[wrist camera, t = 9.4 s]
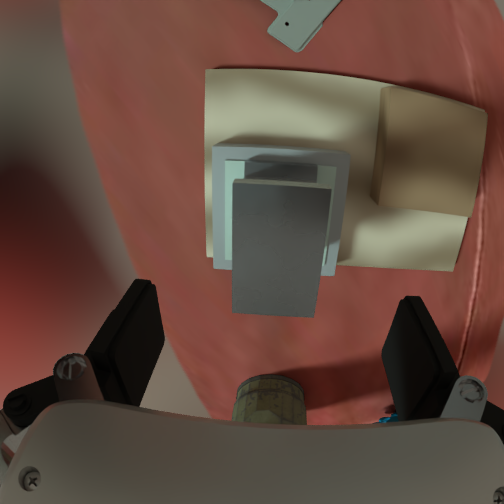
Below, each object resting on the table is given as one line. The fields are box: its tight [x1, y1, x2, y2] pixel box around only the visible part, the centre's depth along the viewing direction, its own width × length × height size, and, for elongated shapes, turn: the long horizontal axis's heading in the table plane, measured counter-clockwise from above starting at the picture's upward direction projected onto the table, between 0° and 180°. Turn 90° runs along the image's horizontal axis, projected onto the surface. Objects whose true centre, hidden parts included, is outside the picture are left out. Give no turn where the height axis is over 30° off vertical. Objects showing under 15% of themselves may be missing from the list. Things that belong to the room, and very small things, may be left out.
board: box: [205, 69, 485, 271], centre depth 24 cm, size 16×24×1 cm, turn 88°
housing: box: [232, 160, 332, 318], centre depth 21 cm, size 8×5×7 cm, turn 178°
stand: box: [370, 87, 488, 217], centre depth 21 cm, size 9×9×2 cm
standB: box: [212, 143, 351, 276], centre depth 25 cm, size 10×10×2 cm
